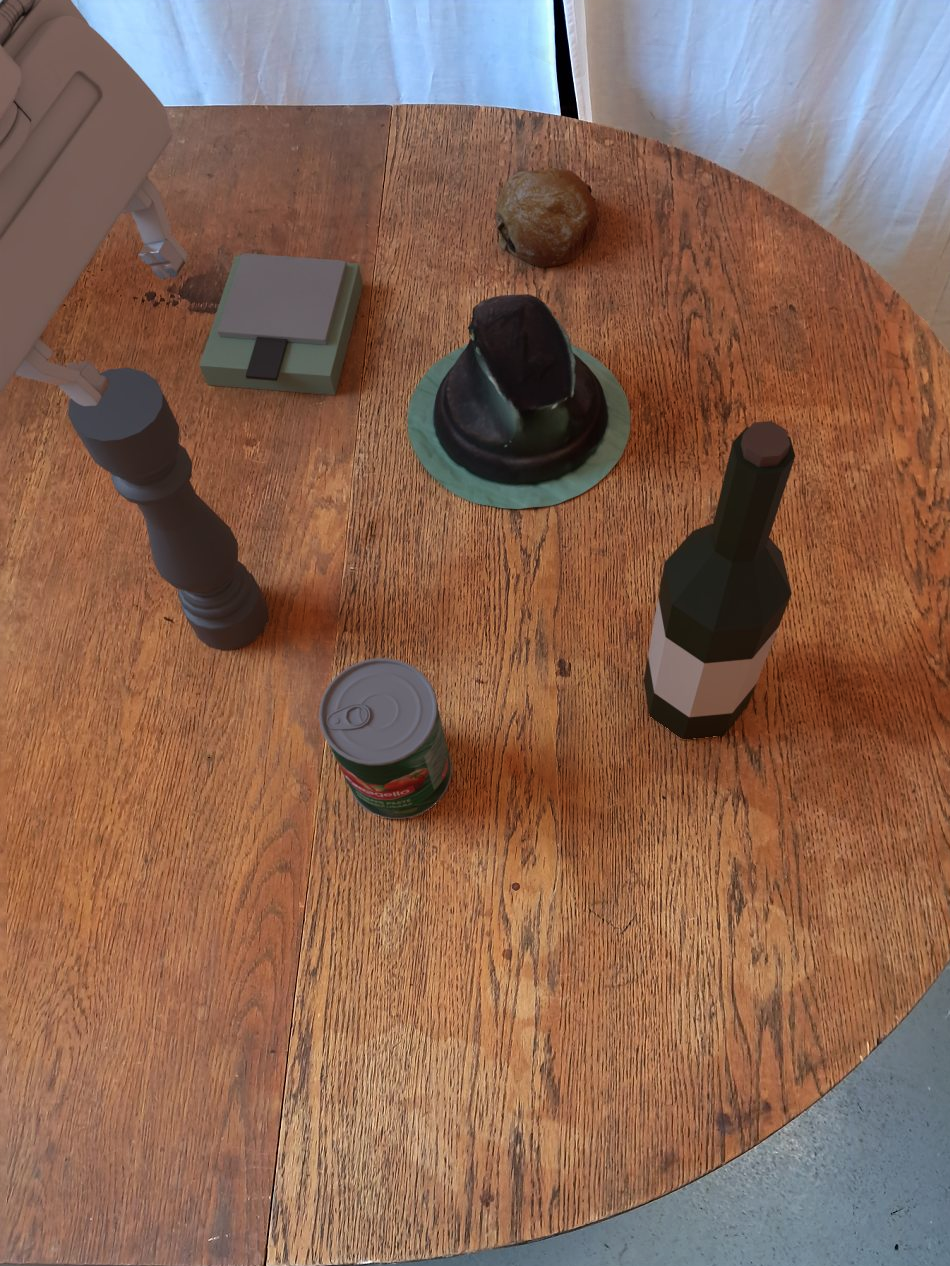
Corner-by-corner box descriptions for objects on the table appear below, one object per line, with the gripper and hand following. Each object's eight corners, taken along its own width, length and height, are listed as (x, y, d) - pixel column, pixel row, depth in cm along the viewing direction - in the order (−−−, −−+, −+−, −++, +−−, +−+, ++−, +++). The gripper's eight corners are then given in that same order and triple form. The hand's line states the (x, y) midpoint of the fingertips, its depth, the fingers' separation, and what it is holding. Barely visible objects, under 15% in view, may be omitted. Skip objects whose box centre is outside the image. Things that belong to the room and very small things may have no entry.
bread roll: (491, 250, 108) (461, 205, 100) (558, 171, 106) (532, 119, 99) (556, 303, 104) (528, 260, 97) (625, 221, 103) (603, 171, 96)
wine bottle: (711, 631, 84) (788, 357, 57) (768, 713, 81) (878, 464, 54) (622, 675, 83) (657, 414, 55) (677, 760, 79) (743, 527, 52)
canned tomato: (439, 714, 81) (423, 645, 71) (462, 805, 78) (449, 747, 68) (339, 738, 80) (309, 672, 70) (358, 832, 77) (330, 776, 67)
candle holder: (178, 613, 85) (44, 399, 63) (242, 572, 87) (133, 348, 64) (219, 664, 83) (96, 461, 61) (284, 621, 85) (187, 408, 62)
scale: (204, 394, 95) (193, 369, 92) (242, 275, 102) (233, 248, 99) (333, 404, 95) (326, 379, 92) (363, 284, 101) (357, 257, 98)
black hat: (683, 444, 91) (490, 553, 87) (578, 396, 105) (407, 488, 101) (643, 274, 82) (425, 387, 78) (534, 246, 96) (344, 341, 92)
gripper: (-4, -27, 52) (183, 207, 63) (-246, 267, 45) (12, 474, 56) (74, -62, 49) (257, 191, 60) (-174, 249, 42) (85, 473, 53)
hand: (137, 331), depth 58 cm, fingers open, 8 cm apart
